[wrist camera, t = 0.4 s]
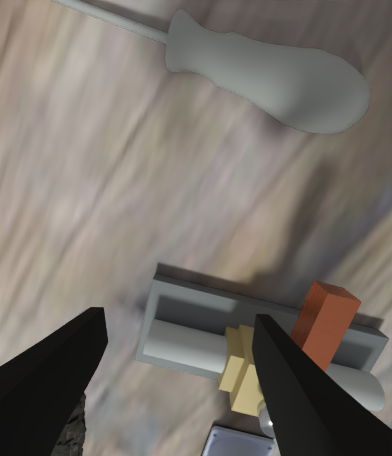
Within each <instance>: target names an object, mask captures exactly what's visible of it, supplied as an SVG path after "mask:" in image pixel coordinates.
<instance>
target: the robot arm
mask: <svg viewBox="0 0 392 456" xmlns="http://www.w3.org/2000/svg"><path fill="white" fill-rule="evenodd" d="M107 344H108V337H107V329H106V321H105V314H104V307H90V308H89V309H87V310H86V311H84V312H82V313H81V314H80V315H78V316H77V317H75V318H74V319H72V320H71V321H69V322H68V323H66V324H65V325H63V326H62V327H61V328H59V329H58V330H56V331H55V332H53V333H52V334H50V335H49V336H47V337H46V338H44V339H43V340H41V341H40V342H38V343H37V344H35V345H33V346H32V347H30V348H29V349H27V350H26V351H24V352H23V353H21V354H19V355H18V356H16V357H15V358H13V359H12V360H10V361H8V362H7V363H5V364H3V365H2V366H0V456H50V455H51V453H52V451H53V449H54V447H55V445H56V443H57V441H58V439H59V437H60V435H61V433H62V431H63V429H64V427H65V425H66V424H67V422H68V420H69V418H70V416H71V415H72V413H73V411H74V409H75V407H76V406H77V404H78V402H79V400H80V398H81V397H82V395H83V393H84V391H85V389H86V387H87V386H88V384H89V382H90V380H91V378H92V376H93V375H94V373H95V371H96V369H97V367H98V365H99V363H100V361H101V358H102V356H103V354H104V351H105V349H106V346H107ZM252 354H253V359H254V364H255V369H256V374H257V377H258V381H259V384H260V387H261V391H262V394H263V397H264V400H265V404H266V407H267V410H268V414H269V417H270V420H271V423H272V427H273V430H274V433H275V436H276V440H277V443H278V447H279V451H280V454H281V456H392V429H391V428H389V427H388V426H387V425H386V424H384V423H383V422H382V421H381V420H379V419H378V418H377V417H376V416H374V415H373V414H372V413H371V412H369V411H368V410H367V409H366V408H365V407H364V406H362V405H361V404H360V403H359V402H358V401H357V400H355V399H354V398H353V397H352V396H351V395H350V394H348V393H347V392H346V391H345V390H344V389H343V388H342V387H340V386H339V385H338V384H337V383H336V382H335V381H334V380H333V379H332V378H331V377H330V376H328V375H327V374H326V373H325V372H324V371H323V370H322V369H321V368H320V367H319V366H318V365H317V364H316V363H315V362H314V361H313V360H312V359H311V358H310V357H309V356H308V355H307V354H306V353H305V352H304V351H303V350H302V349H301V348H300V347H299V346H298V345H297V344H296V343H295V342H294V341H293V340H292V339H291V337H290V336H289V335H288V334H287V333H286V332H285V331H284V330H283V329H282V328H281V327H280V326H279V324H278V323H277V322H276V321H275V320H274V319H273V318H272V317H271V316H270V315H269V314H256V317H255V325H254V333H253V341H252ZM274 447H275V444H274V441H273V440H272V439H268V438H264V437H260V436H256V435H252V434H248V433H244V432H240V431H235V430H231V429H227V428H223V427H219V426H213V427H212V429H211V432H210V435H209V437H208V440H207V443H206V445H205V448H204V451H203V453H202V456H270V455H271V453H272V451H273V449H274Z"/></svg>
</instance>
